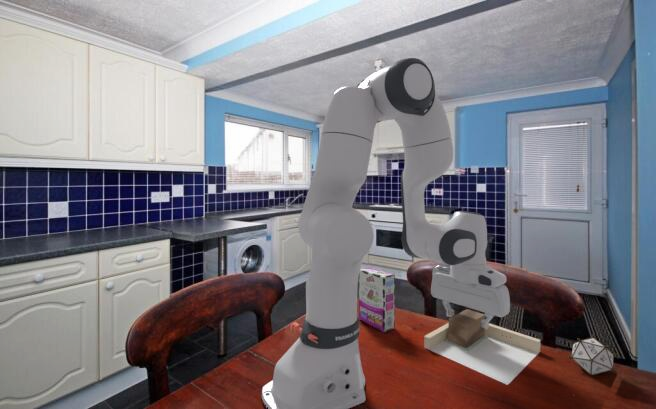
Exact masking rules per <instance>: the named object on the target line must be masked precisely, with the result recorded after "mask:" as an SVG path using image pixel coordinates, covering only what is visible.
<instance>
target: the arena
mask: <svg viewBox="0 0 656 409" xmlns="http://www.w3.org/2000/svg"><path fill="white" fill-rule="evenodd" d="M448 331H449V322H447V323H445V324H443V325H442V326H440V327H438V328H437V329H435V330H432V331H431V332H429V333H427V334H425V335H424V336H423V338H424V340H423V348H424V349H425V350H429V351H431V352H433V353H435V354H437V355H439V356H442V357H444V358H447V359H449V360H451V361H454V362H455V363H458V364H460V365H462V366H464V367H466V368H468V369H471V370H473V371H475V372H478V373H480V374H481V375H484V376H486V377H489V378H490V379H493V380H495V381H498V382H500V383H502V384H504V385H506V386H509V384H511V382H512V381H513V380H514V379H515V378H516V377H517V376H518V375H519V374H521V372H522V371H523V370H524V369H525V368H527V366H528V365H529V364H530V363H531V362H532V361H533V360H534V359H535V358H536V357H537V356H538V355H539V354H540V352H541V339H540V338H535V337H533V336H530V335H526V334H523V333H521V332H517V331H514V330H511V329H508V328H505V327H502V326H498V325H497V324H493V323H490V322H489V328H488V329H485V332H484V336H483V337H482V338H480V339H479V340H478V341H476V342H475V343H473V344H472V345H470V346H469V347H468V348H465V347H463V346H460V345H458V344H455V343H453V342H450V341H448ZM486 331H487V332H486ZM502 335H503V336H502ZM506 336H507V337H506ZM510 337H511V338H510Z"/></svg>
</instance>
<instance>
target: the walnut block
mask: <svg viewBox="0 0 656 409" xmlns="http://www.w3.org/2000/svg"><path fill="white" fill-rule="evenodd" d="M482 320H486V317H485V313H483V312H482V313H480V312H479V311H476V310H475V311H474V310H473V309H470V308H469V309H468V308H466V309H465V310H464V309H463V310H462V311H461V312H459V313H457V314H454V316H453V317H449V318H448V323H449V331H448V341H450V342H453V343H455V344H458V345H460V346H463V347H465V348H468V347H469V346H470V345H472V344H473V343H475V342H476V341H478V340H479V339H480V338H482V337H483V336H484V332H485V329H483V328H481V327H480V325H481V324H480V321H482Z"/></svg>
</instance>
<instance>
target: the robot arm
mask: <svg viewBox="0 0 656 409" xmlns="http://www.w3.org/2000/svg"><path fill="white" fill-rule="evenodd" d="M389 120H390V121H391V120H392V121H393V120H394V121H395V122H396V123H397V125H398V127H399V129H400V131H401V139H402V146H403V152H404V167H403V169H402V172H401V176H400V196H401V209H402V212H401V213H402V230H401V231H402V232H401V238H400V239H401V245H402V248H403V250H404V252H405V253H406V254H407V255H408V256H410V257H411V258H416V259H422V260H427V261H430V262H434V263H439V264H442V265H437V266H434V267H433V269H432V274H431V275H432V280H431V287H430V294H431V296H432V297H433V298H436V299H438V300H441V301H442V305H443V307H444V309H445V311H446V313H445V315H446V317H449V318H451V317H453V316H455V310H454V309H453V308H452V306H451V304H450V303H452V304H456V305H458V306H462V307H465V308H467V309H468V308H469V309H470V310H475V311H477V312H482V313H483V314H485V320H482V321H480V324H481V325H480V327H481V328H483V329H488V328H489V323H490V321H491V320H492V319H493V318H494V317H499V318H504V317H506V316H507V315H508V314H509V313H510V311H511V298H510V292H509V288H508V287H507V285H505V283H506V282H507V276H506V274H504V273H502V272H500V271H498V270H496V269H494V268H493V267H491V266H489V265H487V258H486V250H487V246H488V228H487V221H486V218H485V216H484V215H482V214H481V213H479V212H472V211H466V210H465V211H464V210H458V211H454V213H453V215H452V217H451V218H450V219H449V220H448V221H447V222H445V223H442V224H435V223H434V224H433V223H430V222H429V221H428V220H427V219H426V210H425V209H426V208H425V190H426V188H427V186H428V185H429V184H430V183H432V182H433V181H435V180H437V179H438V178H440V177H441V176H443V175H444V174H445V173H446V172H447V171H448V170H449V169H450V167H451V165H452V163H453V162H454V161H453V160H454V147H453V146H454V145H453V141H452V140H453V139H452V134H451V129H450V125H449V120H448V116H447V113H446V111H445V108H444V105H443V103H442V101H441V99H440V98H439V97H438V96H437V95H436V86H435V80H434V76H433V74H432V71H431V69H430V68H429V66H427V64H426V63H425V62H424V61H423V60H422V59H419V58H416V57H407V58H404V59H399V60H396V61H395V62H393V63H392V64H390V65H387V66H385V67H383V68H380V69H378V70H376V71H375V72H373V73H372V74H370V75H369V76H368V77H367V78H365V79H362V81H360V82H359V83H358V84H357V85H347V86H343V87H340V88H338V89H337V90H336V91H335V92H334V94H333V95H332V97H331V99H330V102H329V105H328V107H327V111H326V113H325V117H324V121H323V125H322V128H321V133H320V134H321V135H320V141H319V145H318V152H317V157H316V163H315V168H314V172H313V175H312V179H311V182H310V184H309V188H308V190H307V194H306V197H305V200H304V203H303V207H302V209H301V210H302V211H301V212H300V215H299V216H298V220H297V227H298V231H299V232H298V233H299V234H300V237H301V239H302V241H303V242H304V243H305V244H306V245H308V246H309V247H311V248H310V249H311V262H310V268H309V274H308V277H307V280H306V281H305V300H306V301H305V303H306V304H305V305H306V306H305V308H306V310H305V311H306V315H305V317H304V321H303V322H302V324H299V323H298V322H296V321H294V322H292V323H291V325H290V327H289V328H290V331H291V332H292V333H294V334H295V335H299V336H298V337H299V338H297V340H296V341H295V342H294V343H292V345H291V346H290V348H289V349H288V350H287V351H286V352H285V353H284V354H283V355H282V356H281V358H279V360H277V362H276V364H275V366H274V370H273V376H272V380H271V381H269V382H267V383H266V384H265V385H264V386H262V389H261V400H262V402H263V404H264V406H265V405H266V406H265V408H267V407H268V409H350V408H351V409H352V408H353V407H356V406H358V405H360V404H362V403H365V401H366V391H365V385H366V378H365V375H364V374H365V373H364V372H363V366H362V361H361V354H360V347H359V339H358V338H359V337H360V331H361V330H360V329H361V328H360V327H361V326H360V320H359V314H358V286H359V273H360V269H362V264H363V260H364V257H366V256H367V255H368V254H369V252H370V250H371V249H372V246H373V242H374V238H375V237H374V229H373V226H372V223H371V222H370V221H369V219H368V218H367V217H366V216H365V215H364V214H362V213H361V212H360V211H358V209H356V208H354V207H353V204H354V203H355V200H356V197H357V195H358V192H359V190H360V189H361V187H362V186H363V185H364V183H365V182H366V179H367V176H368V170H369V165H370V164H369V163H370V159H371V153H372V148H373V140H374V136H375V134H374V133H375V128H376V125H377V123H381V122H384V121H389ZM443 265H446V266H443ZM448 266H449V267H448Z"/></svg>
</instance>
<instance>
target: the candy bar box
mask: <svg viewBox="0 0 656 409" xmlns="http://www.w3.org/2000/svg"><path fill="white" fill-rule="evenodd" d="M395 290H396V275H395V274H394V273H391V272H387V271H383V270H379V269H377V268H373V267H364V268H361V269H360V273H359V278H358V304H359V305H358V310H359V311H358V313H359V314H358V317H359V319H360V320H362V321H364V322H365V323H364V322H363V323H364V324H366V323H367V324H366V325H368V324H369V326H370V325H371V326H370V327H372V326H373V328H374V329H377V330H379V331H381V332H383V333H386V332H388V331H391V330H394V329H395V327H396V326H395V325H396V323H395V321H396V315H395V314H396V310H395V309H396V303H395V302H396V300H395V299H396V295H395V294H396V291H395ZM360 320H359V321H360ZM362 321H361V322H362Z"/></svg>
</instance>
